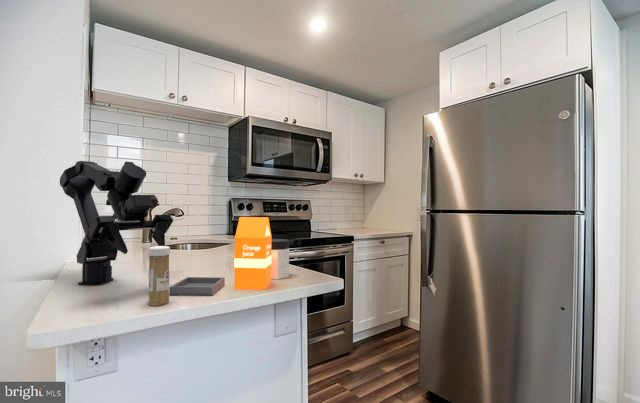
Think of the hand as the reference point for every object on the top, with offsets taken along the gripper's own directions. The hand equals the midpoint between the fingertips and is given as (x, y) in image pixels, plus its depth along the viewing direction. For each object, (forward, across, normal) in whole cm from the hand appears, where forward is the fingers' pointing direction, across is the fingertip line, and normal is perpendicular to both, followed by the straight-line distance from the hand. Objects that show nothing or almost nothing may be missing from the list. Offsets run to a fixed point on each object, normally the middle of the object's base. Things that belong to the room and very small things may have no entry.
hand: (145, 250), depth 80 cm
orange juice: (+17, +25, 0) cm, 30 cm away
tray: (+11, +13, +6) cm, 18 cm away
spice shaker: (+13, 0, +4) cm, 14 cm away
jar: (+16, +38, +2) cm, 41 cm away
